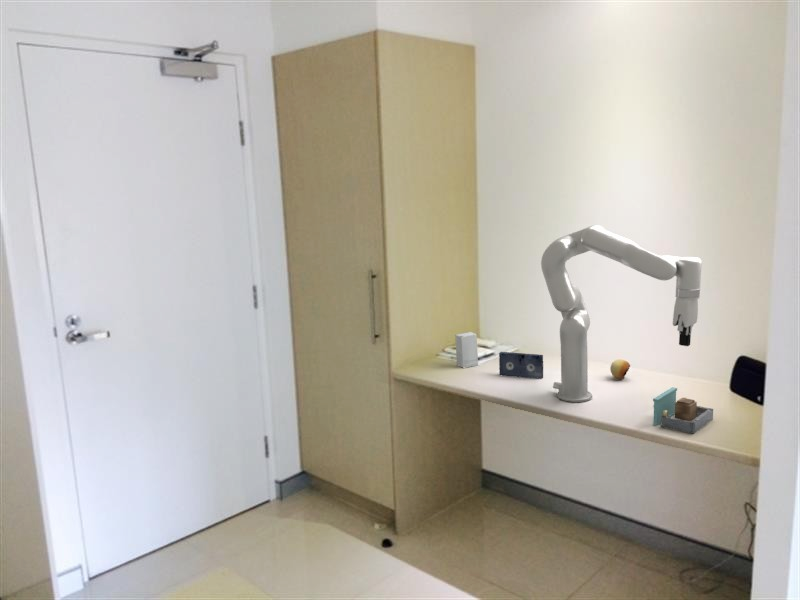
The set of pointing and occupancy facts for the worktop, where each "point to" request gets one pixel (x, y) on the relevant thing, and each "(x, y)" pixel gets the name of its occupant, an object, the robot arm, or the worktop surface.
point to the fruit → (619, 368)
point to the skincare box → (466, 349)
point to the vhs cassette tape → (521, 365)
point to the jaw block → (685, 409)
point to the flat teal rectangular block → (664, 404)
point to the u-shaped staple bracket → (692, 426)
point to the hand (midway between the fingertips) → (684, 345)
